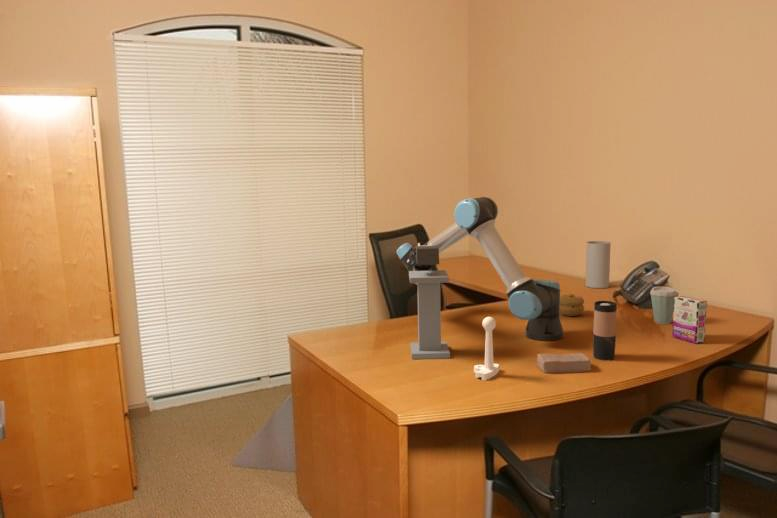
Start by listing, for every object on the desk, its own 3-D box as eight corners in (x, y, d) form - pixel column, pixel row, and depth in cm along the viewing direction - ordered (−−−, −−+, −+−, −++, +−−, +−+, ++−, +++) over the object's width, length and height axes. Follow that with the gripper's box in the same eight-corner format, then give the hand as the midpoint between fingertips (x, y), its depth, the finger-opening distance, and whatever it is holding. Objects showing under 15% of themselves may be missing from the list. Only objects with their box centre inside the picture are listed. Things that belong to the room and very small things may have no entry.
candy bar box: (705, 342, 226) (707, 300, 224) (695, 344, 224) (698, 302, 222) (680, 335, 236) (682, 295, 234) (671, 336, 234) (673, 296, 232)
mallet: (414, 255, 237) (413, 240, 236) (433, 255, 237) (433, 240, 236) (417, 264, 214) (416, 248, 213) (439, 264, 214) (438, 248, 213)
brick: (582, 364, 207) (582, 351, 206) (591, 372, 198) (592, 358, 198) (536, 366, 206) (536, 353, 205) (543, 374, 198) (543, 361, 197)
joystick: (488, 381, 192) (488, 321, 189) (467, 376, 196) (466, 318, 193) (501, 370, 201) (502, 314, 198) (481, 367, 205) (481, 311, 202)
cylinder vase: (589, 283, 340) (590, 240, 336) (611, 285, 332) (613, 241, 328) (582, 287, 330) (583, 243, 326) (605, 289, 322) (606, 244, 318)
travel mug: (614, 354, 215) (616, 301, 212) (615, 361, 208) (617, 306, 204) (592, 353, 217) (594, 300, 214) (592, 359, 210) (594, 305, 207)
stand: (410, 346, 231) (408, 271, 226) (446, 345, 231) (445, 270, 226) (411, 359, 215) (410, 278, 211) (450, 358, 215) (449, 277, 211)
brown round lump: (580, 311, 277) (581, 291, 275) (586, 318, 265) (587, 296, 264) (555, 311, 278) (555, 291, 276) (560, 318, 267) (560, 296, 265)
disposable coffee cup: (678, 326, 249) (680, 291, 247) (651, 325, 251) (653, 290, 249) (672, 319, 260) (673, 286, 257) (645, 318, 262) (647, 285, 259)
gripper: (442, 274, 249) (447, 254, 227) (402, 275, 249) (403, 255, 227) (441, 258, 251) (446, 236, 230) (402, 259, 251) (402, 237, 230)
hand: (425, 246), depth 228 cm, fingers closed on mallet, 4 cm apart
